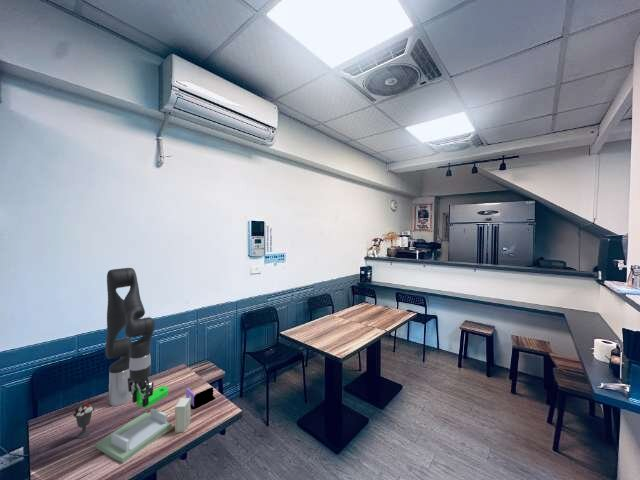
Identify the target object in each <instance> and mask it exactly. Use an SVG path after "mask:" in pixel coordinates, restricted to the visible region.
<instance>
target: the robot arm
mask: <svg viewBox="0 0 640 480" xmlns="http://www.w3.org/2000/svg"><path fill="white" fill-rule="evenodd" d="M106 287H107V289H106V290H107V310H106V342H105V350H104V353H105V358H107V359H108V360H111V359H117V358H119V359H118V360H116V361H114V362H113V363H111V364H110V366H109V367H108V369H109V370H108V371H109V372H108V373H109V375H108V378H109V379H108V380H109V381H108V383H109V384H108V401H109V406H112V407H115V406H122V405H123V404H126V403H127V402H128V401H130V400H132V401H131V402H132V403H133V404H135V403H137V390H139V393H140V394H141V395H142V407H141V408H143V407H145V406H147V405H148V404H149V397H150V396H152V395H153V391H154V382H153V381H151V382H150V380H149V376H150V375H151V372H152V364H151V363H152V361H151V358H152V356H151V342H152V337H153V334H154V331H155V327H156V323H155V320H154V319H153V317H150V316H147V317H144V316H145V313H146V310H145V308H144V304H143V302H142V299H141V295H140V288H139V287H140V286H139V283H138V277H137V273H136V271H135V269H134V268H133V267H122V268H115V269H110V270H108V271H107V275H106ZM127 287H129V289H128V292H127V294H126V295H125V297H124V299H123V297H121V295H119V293H118V291H117V289H120V288H127ZM123 329H124V335H125V336H126V337H121V338H118V339H117V337H118V335H119V333H120V332H121V331H122V330H123ZM137 337H140V338H138V339H136V340H135V341H133V342H132V339H133V338H137ZM143 389H144V390H143ZM142 390H143V391H142ZM144 392H145V394H144ZM149 392H150V393H149ZM131 398H132V399H131Z"/></svg>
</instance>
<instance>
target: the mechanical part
mask: <svg viewBox="0 0 640 480" xmlns="http://www.w3.org/2000/svg"><path fill="white" fill-rule="evenodd" d="M143 390H145V389H143ZM143 390H142V391H143ZM149 393H150V392H149ZM144 394H145V392H144ZM168 395H169V387H167V386H165V385H161V386H160V387H158V388H156V389H153V395H152V396H150V397H149V404H148V405H147V406H145V407H142V395H141V394H140V393H139V390H137V402H136V406H139V407H141V408H143V409H148V408H149V407H151V406H152V405H154V404H156V403H158V402H159V401H162V399H163V398H165V397H167V396H168Z"/></svg>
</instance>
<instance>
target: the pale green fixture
mask: <svg viewBox="0 0 640 480" xmlns="http://www.w3.org/2000/svg"><path fill="white" fill-rule="evenodd" d="M171 428H172V422H169V421H168V413H165V412H162V411H161V410H158V409H156V408H153V407H152V408H151V409H150V413H148V412H143V413H142V414H140V415H139V416H137V417H136V418H134V419H132V420H131V421H129V422H128V423H126V424H124V425H122V426H121V427H120V428H118V429H116V430H114V431H113V432H111V433H110V434H108V435H107V436H105V437H103V438H102V439H100V440H99V441H97V442H95V449H97V450H99V451H100V452H102V453H104V454H105V455H107V456H108V457H111V458H112V459H114V460H116V461H118V462H120V463H121V464H124V463H125V462H126V461H128V460H129V459H131V458H132V457H133V456H135V455H136V454H137V453H139V452H140V451H142V450H143V449H144V448H146V447H147V446H148V445H151V444H152V442H153V441H155V440H156V439H158V438H160V437H161V436H162V435H163V434H165V433H166V432H167V431H169V430H170V429H171Z"/></svg>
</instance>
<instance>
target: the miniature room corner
mask: <svg viewBox="0 0 640 480" xmlns="http://www.w3.org/2000/svg"><path fill="white" fill-rule="evenodd" d="M185 398H191V399H190V400H191V401H190V410H192V411H193V410H197V409H199V408H201V407H202V406H205V405H207V404H209V403H211V402H213V401H214V400H216V397H215V396H214V387H213V386H211V387H209V388H206V389H205V390H202V391H200V392H198V393H194V392H193V390H191V389H190V388H189V387H186V389H185Z"/></svg>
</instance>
